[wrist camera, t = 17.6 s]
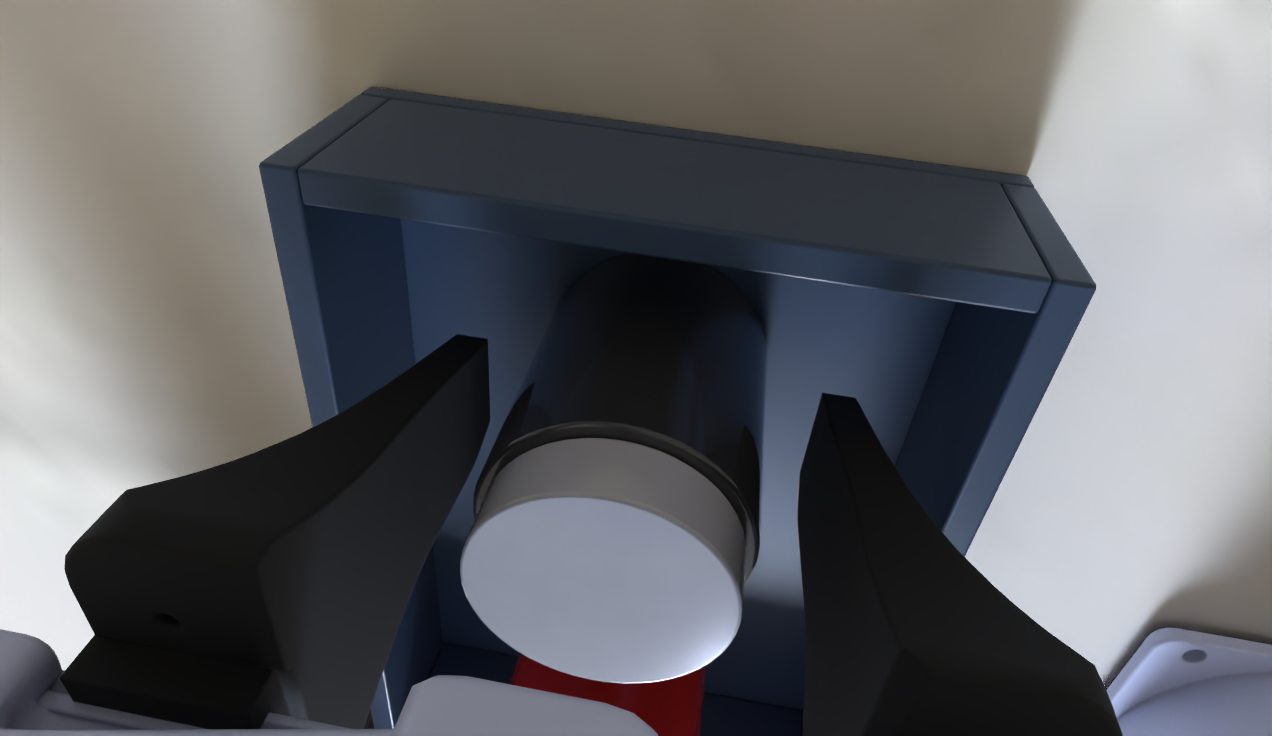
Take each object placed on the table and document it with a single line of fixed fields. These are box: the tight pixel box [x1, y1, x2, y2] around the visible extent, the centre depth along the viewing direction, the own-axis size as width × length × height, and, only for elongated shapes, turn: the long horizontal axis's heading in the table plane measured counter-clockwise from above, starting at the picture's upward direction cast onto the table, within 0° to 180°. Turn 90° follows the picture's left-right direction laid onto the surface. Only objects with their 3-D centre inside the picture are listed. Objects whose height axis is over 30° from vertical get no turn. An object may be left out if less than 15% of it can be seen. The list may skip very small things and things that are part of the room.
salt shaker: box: [510, 652, 707, 736], centre depth 19 cm, size 5×5×7 cm
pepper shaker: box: [460, 254, 767, 684], centre depth 14 cm, size 5×5×7 cm
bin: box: [259, 87, 1096, 736], centre depth 18 cm, size 12×17×4 cm
